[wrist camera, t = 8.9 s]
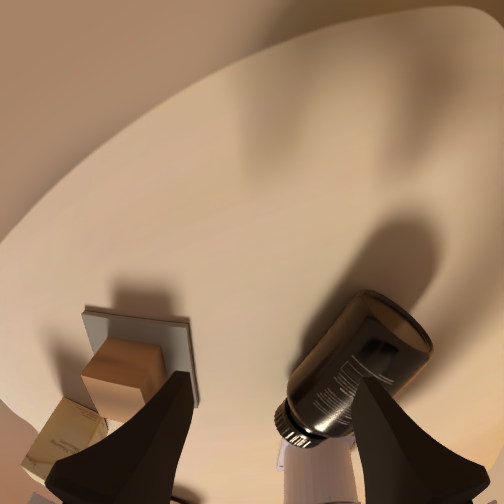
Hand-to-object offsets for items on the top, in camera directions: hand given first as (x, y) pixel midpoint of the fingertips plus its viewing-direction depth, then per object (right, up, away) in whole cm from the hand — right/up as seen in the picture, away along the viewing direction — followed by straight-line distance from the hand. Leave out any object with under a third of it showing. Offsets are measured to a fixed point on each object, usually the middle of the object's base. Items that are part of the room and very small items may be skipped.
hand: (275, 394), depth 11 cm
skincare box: (-22, -14, +17) cm, 31 cm away
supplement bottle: (+9, +2, +5) cm, 10 cm away
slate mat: (-11, -4, +12) cm, 17 cm away
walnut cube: (-11, -4, +12) cm, 16 cm away
